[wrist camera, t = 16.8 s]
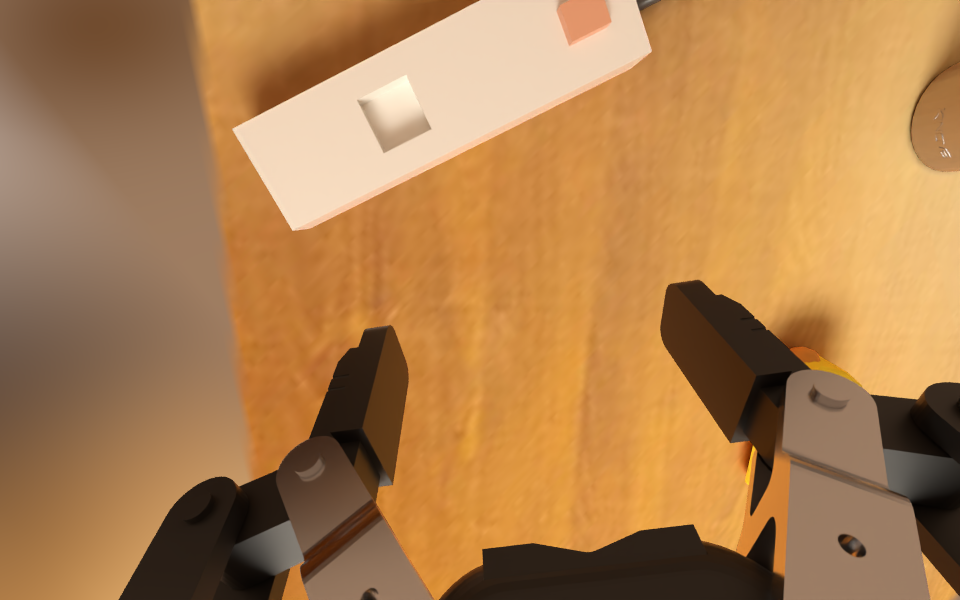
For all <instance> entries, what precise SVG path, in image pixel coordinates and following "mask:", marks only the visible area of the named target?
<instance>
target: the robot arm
mask: <svg viewBox="0 0 960 600" xmlns="http://www.w3.org/2000/svg"><path fill="white" fill-rule="evenodd" d="M911 134H912V143H913V147H914V150H915V152H916V154H917V156H918V157H919V159H920V160H921V161H922V162H923V163H924V164H925V165H926V166H928V167H930V168H932V169H933V170H937V171H942V172H952V171H960V63H957V64H955V65H953V66H951V67H949V68H948V69H946V70H945V71H944V72H942V73H941V74H939V75H938V76H937V77H936V78H935V79H934V80H933V81H932V82H931V83H930V85H929V86H928V88H927V89H926V90H925V92H924V93H923V95H922V97H921V98H920V100H919V102H918V104H917V107H916V110H915V113H914V116H913V121H912V128H911ZM660 330H661V337H662V341H663V343H664V345H665V347H666V349H667V350H668V352H669V353H670V355H671V356H672V358H673V359H674V361H675V362H676V363H677V365H678V366H679V368H680V369H681V371H682V372H683V374H684V375H685V377H686V378H687V380H688V381H689V383H690V384H691V386H692V387H693V389H694V390H695V392H696V393H697V395H698V396H699V397H700V399H701V400H702V402H703V403H704V405H705V406H706V408H707V409H708V411H709V412H710V414H711V415H712V417H713V418H714V420H715V421H716V423H717V424H718V426H719V427H720V429H721V430H722V431H723V433H724V434H725V436H726V437H727V439H728V440H729V442H730V443H735V442H743V441H750V442H751V443H752V445H753V446H754V447H755V451H754V454H753V457H752V464H751V472H750V480H749V487H748V495H747V503H746V510H745V518H744V524H743V529H742V532H741V536H740V539H739V542H738V546H737V549H736V552H735V551H732V550H730V549H727V548H725V547H722V546H719V545H716V544H712V543H709V542H704V541H701V540H700V537H699V535H698V533H697V531H696V529H695V527H694V525H693V524H692V525H683V526H675V527H666V528H658V529H649V530H641V531H638V532H636V533H634V534H632V535H629V536H627V537H625V538H623V539H621V540H618V541H616V542H614V543H612V544H609V545H607V546H605V547H603V548H601V549H598V550H596V551H593V552H581V551H575V550H569V549H564V548H558V547H552V546H546V545H540V544H535V543H531V544H523V545H514V546H506V547H497V548H489V549H482V551H483V565H482V566H480V567H477V568H475V569H473V570H472V571H470V572H469V573H467V574H465V575H464V576H463V577H461V578H460V579H459V580H458V581H457V582H455V583H454V584H453V585H452V586H451V587H450V588H449V589H448V590H447V591H446V592H445V593H444V594H443V595H442V597H441V598H440V599H439V600H930V595H929V590H928V585H927V579H926V574H925V568H924V563H923V557H922V552H923V554H924V555H925V556H926V557H927V558H928V559H929V561H930V562H931V563H932V564H933V565H934V567H935V568H936V569H937V570H938V571H939V572H940V574H941V575H942V576H943V577H944V578H945V580H946V581H947V582H948V583H949V584H950V585H951V587H952V588H953V589H954V590H955V591H956V593H957V594H958V595H959V596H960V383H951V382H944V383H936V384H933V385H930V386H929V387H928V388H927V389H926V390H925V391H924V392H923V394H922V395H921V396H920V398H919V399H918V400H916V399H907V398H897V397H888V396H878V395H870V394H869V393H868V392H867V391H866V390H864V389H863V388H862V387H860V386H859V385H858V384H856V383H854V382H853V381H851V380H849V379H847V378H845V377H842V376H840V375H837V374H834V373H830V372H826V371H821V370H811V369H810V368H809V367H808V366H807V365H806V364H805V363H804V362H803V361H802V360H800V359H799V358H798V357H797V356H796V355H795V354H794V353H793V352H792V351H791V350H790V349H789V348H788V347H786V346H785V345H784V344H783V343H782V342H781V341H780V340H779V339H778V338H777V337H776V336H775V335H774V334H772V333H771V332H770V331H769V330H766V327H765V326H764V325H763V324H762V323H761V322H760V321H758V320H757V319H755V318H754V316H753V315H752V314H751V313H750V312H749V311H748V310H747V309H746V308H744V307H743V306H742V305H741V304H740V303H738V302H736V301H734V300H732V299H730V298H728V297H726V296H724V295H722V294H721V295H715V294H714V293H713V292H712V291H711V290H710V289H709V288H708V287H707V286H706V285H705V284H704V283H703V282H702V281H700V280H693V281H687V282H680V283H673V284H670V285H668V287H667V289H666V295H665V301H664V307H663V313H662V320H661V327H660ZM407 388H408V367H407V363H406V360H405V357H404V355H403V352H402V349H401V347H400V344H399V341H398V338H397V336H396V333H395V330H394V328H393V327H392V326H391V325H389V326H382V327H375V328H369V329H365V330H364V332H363V335H362V338H361V341H360V344H359V347H357V348H350V349H349V350H348V351H347V352H346V354H345V355H344V356H343V357H342V358H341V359H340V361H339V362H338V364H337V367H336V369H335V372H334V374H333V379H332V380H331V382H330V385H329V388H328V392H327V393H326V395H325V398H324V401H323V403H322V406H321V409H320V411H319V414H318V416H317V419H316V422H315V424H314V427H313V430H312V432H311V435H310V437H309V439H308V440H306V441H304V442H302V443H300V444H299V445H298V446H296V447H295V448H294V449H293V450H291V451H290V452H289V453H288V454H287V456H286V457H285V458H284V460H283V461H282V463H281V464H280V466H279V469H278V470H276V471H274V472H272V473H270V474H268V475H265V476H263V477H260V478H258V479H256V480H253V481H251V482H249V483H246V484H244V485H242V486H238V485H237V484H236V483H235V482H234V481H233V480H231V479H230V478H227V477H215V478H211V479H208V480H206V481H204V482H202V483H200V484H198V485H196V486H195V487H193V488H192V489H191V490H189V491H188V492H187V493H185V495H183V496H182V497H181V498H180V499H179V500H178V501H177V502H176V503H175V504H174V506H173V507H172V508H171V509H170V511H169V513H168V514H167V516H166V517H165V519H164V521H163V523H162V525H161V526H160V528H159V530H158V532H157V533H156V535H155V537H154V538H153V540H152V542H151V544H150V545H149V547H148V549H147V551H146V553H145V554H144V556H143V558H142V560H141V561H140V563H139V565H138V567H137V569H136V570H135V572H134V574H133V575H132V577H131V579H130V581H129V582H128V584H127V586H126V588H125V589H124V591H123V593H122V595H121V596H120V598H119V600H282V596H283V593H284V589H285V585H286V582H287V578H288V574H289V571H290V568H291V567H293V566H295V565H297V564H299V563H301V562H303V561H304V563H303V564H302V565H301V567H300V572H301V577H302V581H303V584H304V587H305V590H306V593H307V595H308V598H309V600H434V598H433V597H432V595H431V593H430V592H429V590H428V588H427V587H426V585H425V583H424V582H423V580H422V579H421V577H420V575H419V574H418V572H417V570H416V569H415V567H414V565H413V564H412V562H411V560H410V559H409V557H408V555H407V554H406V552H405V551H404V549H403V547H402V546H401V544H400V542H399V541H398V539H397V537H396V536H395V534H394V532H393V531H392V529H391V527H390V526H389V524H388V522H387V521H386V519H385V517H384V516H383V514H382V512H381V511H380V509H379V507H378V506H377V504H376V498H377V492H378V487H380V486H388V485H393V480H394V474H395V467H396V461H397V454H398V447H399V441H400V434H401V428H402V421H403V414H404V408H405V401H406V395H407ZM921 551H922V552H921Z"/></svg>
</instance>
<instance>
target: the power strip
mask: <svg viewBox="0 0 960 600" xmlns="http://www.w3.org/2000/svg"><path fill="white" fill-rule="evenodd" d="M658 1H660V0H480V1H478V2H476V3H474V4H472V5H470V6H468V7H466V8H464V9H462V10H461V11H459V12H457V13H455V14H453V15H451V16H449V17H447V18H445V19H443V20H441V21H439V22H437V23H435V24H434V25H432V26H430V27H428V28H426V29H424V30H422V31H420V32H418V33H416V34H414V35H412V36H410V37H408V38H407V39H405V40H403V41H401V42H399V43H397V44H395V45H393V46H391V47H389V48H387V49H385V50H383V51H381V52H379V53H378V54H376V55H374V56H372V57H370V58H368V59H366V60H364V61H362V62H360V63H358V64H356V65H354V66H352V67H351V68H349V69H347V70H345V71H343V72H341V73H339V74H337V75H335V76H333V77H331V78H329V79H327V80H325V81H324V82H322V83H320V84H318V85H316V86H314V87H312V88H310V89H308V90H306V91H304V92H302V93H300V94H298V95H297V96H295V97H293V98H291V99H289V100H287V101H285V102H283V103H281V104H279V105H277V106H275V107H273V108H271V109H270V110H268V111H266V112H264V113H262V114H260V115H258V116H256V117H254V118H252V119H250V120H248V121H246V122H244V123H243V124H241V125H239V126H237V127H235V128H233V129H232V130H233V131H234V133H235V135H236V136H237V138H238V140H239V141H240V143H241V145H242V147H243V148H244V150H245V152H246V153H247V155H248V157H249V158H250V160H251V162H252V163H253V165H254V167H255V168H256V170H257V172H258V173H259V175H260V177H261V178H262V180H263V182H264V183H265V185H266V187H267V188H268V190H269V192H270V194H271V195H272V197H273V199H274V200H275V202H276V204H277V205H278V207H279V209H280V210H281V212H282V214H283V215H284V217H285V219H286V220H287V222H288V224H289V225H290V227H291V229H292V230H293V231H294V230H302V229H310V228H312V227H314V226H316V225H318V224H320V223H322V222H324V221H326V220H328V219H330V218H332V217H334V216H336V215H338V214H340V213H342V212H344V211H346V210H348V209H350V208H352V207H354V206H356V205H358V204H360V203H362V202H364V201H366V200H368V199H370V198H372V197H374V196H376V195H378V194H380V193H382V192H384V191H386V190H388V189H390V188H392V187H394V186H396V185H398V184H400V183H402V182H404V181H406V180H408V179H410V178H412V177H414V176H416V175H419V174H421V173H423V172H425V171H427V170H429V169H431V168H433V167H435V166H437V165H439V164H441V163H443V162H445V161H447V160H449V159H451V158H453V157H455V156H457V155H459V154H461V153H463V152H465V151H467V150H469V149H471V148H473V147H475V146H477V145H479V144H481V143H483V142H485V141H487V140H489V139H491V138H493V137H495V136H497V135H499V134H501V133H503V132H505V131H507V130H509V129H511V128H513V127H515V126H517V125H519V124H521V123H523V122H525V121H527V120H529V119H531V118H533V117H535V116H537V115H539V114H541V113H543V112H545V111H547V110H549V109H551V108H553V107H555V106H557V105H559V104H561V103H563V102H565V101H567V100H569V99H571V98H573V97H575V96H577V95H579V94H581V93H583V92H585V91H587V90H589V89H591V88H593V87H595V86H597V85H599V84H601V83H603V82H605V81H607V80H609V79H611V78H613V77H615V76H617V75H619V74H621V73H623V72H625V71H627V70H629V69H631V68H632V67H633V66H635V65H636V64H637V63H638V62H639V61H641V60H642V59H643V58H644V57H646V56H647V55H648V54H649V53H650V52H652V50H651V47H650V44H649V40H648V37H647V34H646V31H645V27H644V24H643V21H642V18H641V15H640V11H641V10H642V9H644V8H646V7H648V6H650V5H652V4H654V3H656V2H658Z"/></svg>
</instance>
